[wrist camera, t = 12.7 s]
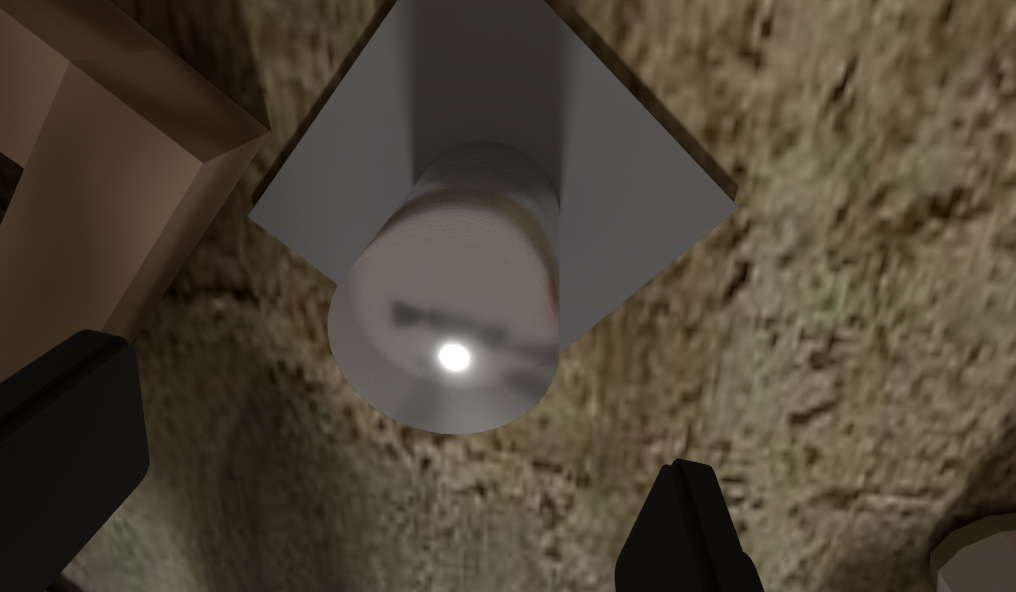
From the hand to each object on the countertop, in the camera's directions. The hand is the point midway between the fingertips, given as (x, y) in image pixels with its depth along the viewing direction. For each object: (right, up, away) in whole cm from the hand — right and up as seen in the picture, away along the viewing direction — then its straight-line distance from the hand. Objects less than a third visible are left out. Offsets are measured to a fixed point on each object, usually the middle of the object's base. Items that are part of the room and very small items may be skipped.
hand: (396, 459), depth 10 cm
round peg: (+1, +6, +9) cm, 11 cm away
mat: (+1, +6, +9) cm, 11 cm away
